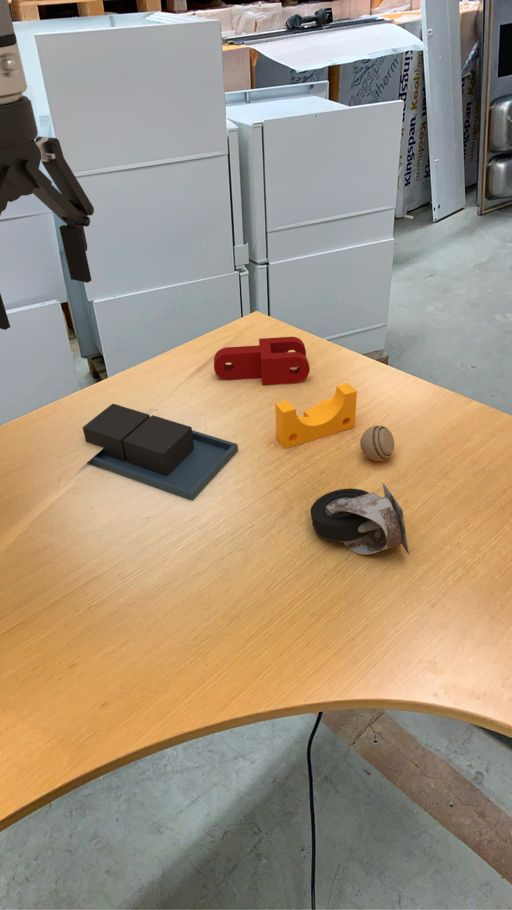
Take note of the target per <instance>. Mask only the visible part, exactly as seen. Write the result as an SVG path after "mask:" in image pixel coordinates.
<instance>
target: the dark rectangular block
mask: <svg viewBox="0 0 512 910" xmlns="http://www.w3.org/2000/svg"><path fill="white" fill-rule="evenodd" d="M192 430H193V428H192V426H190V425H186V424H183V423H179V422H176V421H174V420H171V419H168V418H167V419H166V418H163V417H160V416H156V415H153V414H152V415H150V418H148V419H147V420H146V421H145V422H144V423H143V424H141V425H140V426H139V427H138V428H137V429H136V430H135V431H133V432H132V433H131V434H130V435H129V436H128V437H127V438H125V439H124V440H123V443H124V448H125V453H126V458H127V462H128V463H130V464H133V465H136V466H139V467H142V468H145V469H147V470H150V471H153V472H156V473H159V474H162V475H165V476H168V475H169V474H170V473H171V472H172V471H173V470H174V469H175V468H176V467H177V466H178V465H179V464H180V463H181V462H182V461H183V460H184V459H185V458H186V457H187V456H188V455H189V454H190V453H191V452H192V451H193V450H194V442H193V434H192Z"/></svg>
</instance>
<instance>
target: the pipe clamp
mask: <svg viewBox="0 0 512 910" xmlns="http://www.w3.org/2000/svg"><path fill="white" fill-rule="evenodd" d="M357 394H358V391H357V390H356V389H355V388H354V386H352V385H351V384H350V383H348V382H346V383H343V384H340V385H336V388H335V392H334V396H333V397H331V398H327V399H324V400H321V401H319V402H318V403H317V404H316V405H314V406H313V407H311V408H308V409H305V410H303V416H300V415H297V410H296V407H294V405H292V403H290V401H289V400H283V401H279V402H276V403H274V404H275V439H276V441H277V442H278V444H279V445H280V446H281V447H282V449H284V450H285V449H289V448H292V447H295V446H299V445H301V444H304V443H309V442H312V441H314V440H317V439H321V438H324V437H327V436H331V435H333V434H338V433H340V432H343V431H347V430H349V429H353V428H355V426H356V414H357V413H356V410H357V397H358V395H357Z"/></svg>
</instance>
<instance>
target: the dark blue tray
mask: <svg viewBox="0 0 512 910" xmlns="http://www.w3.org/2000/svg"><path fill="white" fill-rule="evenodd" d="M192 434H193V442H194V450H193V451H192V452H191V453H190V454H189V455H188V456H187V457H186V458H185V459H184V460H183V461H182V462H181V463H180V464H179V465H178V466H177V467H176V468H175V469H174V470H173V471H172V472H171V473H170V474H169V475H168V476H165V475H162V474H159V473H156V472H153V471H150V470H147V469H145V468H142V467H139V466H136V465H133V464H130V463H128V462H127V460H126V461H125V462H124V461H121V460H118V459H115V458H112V457H109V456H106V455H104V454H101V453H99V452H98V453H96V454H95V455H94V456H93V457H92V458H90V459H89V460H88V461H87V462H86V464H87V465H90V466H94V467H96V468H99V469H102V470H105V471H108V472H110V473H113V474H116V475H119V476H121V477H125V478H127V479H130V480H132V481H136V482H138V483H141V484H143V485H147V486H149V487H151V488H155V489H158V490H161V491H164V492H166V493H169V494H171V495H175V496H178V497H180V498H183V499H186V500H189V501H191V502H192V501H195V499H196V498H197V497H198V496H199V495H200V493H202V492H203V490H205V488H206V487H207V486H208V485H209V484H210V483H211V481H212V480H213V479H214V478H215V477H216V476H217V475H218V474H219V473H220V472H221V471H222V469H223V468H224V467H225V466H226V465H227V464H228V463H229V462H230V460H232V458H233V457H234V456H236V454H237V453H238V452H239V444H238V443H236V442H232V441H229V440H226V439H223V438H220V437H216V436H214V435H213V436H212V435H209V434H206V433H203V432H200V431H196V430H193V429H192Z"/></svg>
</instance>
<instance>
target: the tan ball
mask: <svg viewBox="0 0 512 910" xmlns="http://www.w3.org/2000/svg"><path fill="white" fill-rule="evenodd" d="M359 445H360V449H361V452H362V454H363V455H364V456H365V457H366V458H368V459H369V460H371V461H374V462H382V461H386V460H388V459H390V457H392V455H393V454H394V450H395V439H394V435H393V434H392V432H391V431H390V430H389V429H388V428H387V427H386V426H384V425H372V426H370V427H368V428H367V429H366V430H365V431H364V432H363V433H362V435H361V437H360V444H359Z"/></svg>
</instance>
